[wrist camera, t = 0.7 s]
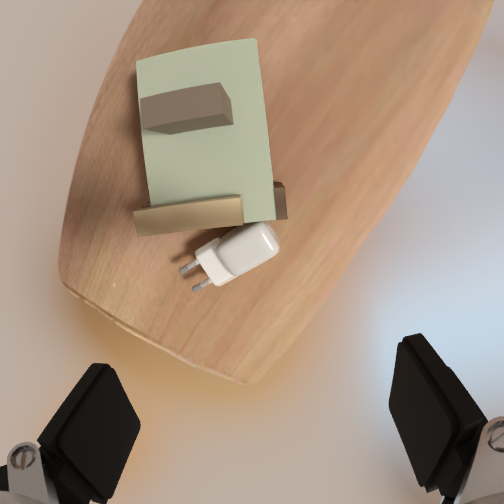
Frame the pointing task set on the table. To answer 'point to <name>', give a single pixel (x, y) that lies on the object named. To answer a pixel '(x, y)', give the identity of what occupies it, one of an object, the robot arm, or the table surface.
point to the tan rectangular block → (189, 216)
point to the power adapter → (235, 253)
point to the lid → (206, 127)
